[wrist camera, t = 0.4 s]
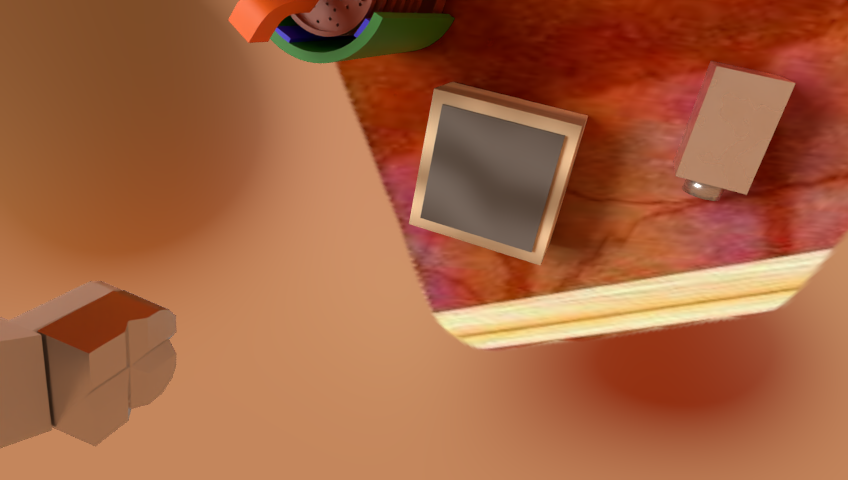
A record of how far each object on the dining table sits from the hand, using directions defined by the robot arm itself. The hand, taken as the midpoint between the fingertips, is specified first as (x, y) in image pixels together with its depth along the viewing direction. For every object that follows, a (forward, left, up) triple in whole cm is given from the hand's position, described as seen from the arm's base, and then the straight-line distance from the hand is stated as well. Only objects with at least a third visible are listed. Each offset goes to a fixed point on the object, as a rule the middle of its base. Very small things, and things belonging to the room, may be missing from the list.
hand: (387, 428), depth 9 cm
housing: (0, +10, -44) cm, 45 cm away
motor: (-4, -18, -44) cm, 48 cm away
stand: (+8, -6, -44) cm, 45 cm away
